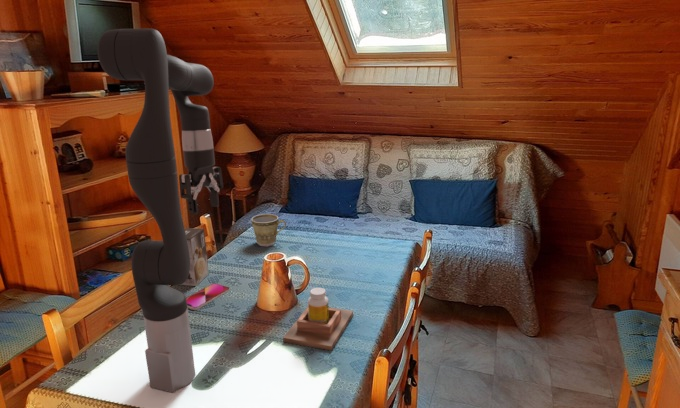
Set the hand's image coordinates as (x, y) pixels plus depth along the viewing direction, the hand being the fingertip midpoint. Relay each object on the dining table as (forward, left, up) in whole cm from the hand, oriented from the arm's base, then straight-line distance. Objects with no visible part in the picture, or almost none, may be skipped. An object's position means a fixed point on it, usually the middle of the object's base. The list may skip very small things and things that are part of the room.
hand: (204, 210), depth 134 cm
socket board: (+3, -30, -31) cm, 43 cm away
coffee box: (+18, +19, -31) cm, 41 cm away
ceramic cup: (+53, +9, -31) cm, 62 cm away
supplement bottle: (+3, -30, -30) cm, 42 cm away
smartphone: (+9, +9, -32) cm, 34 cm away
